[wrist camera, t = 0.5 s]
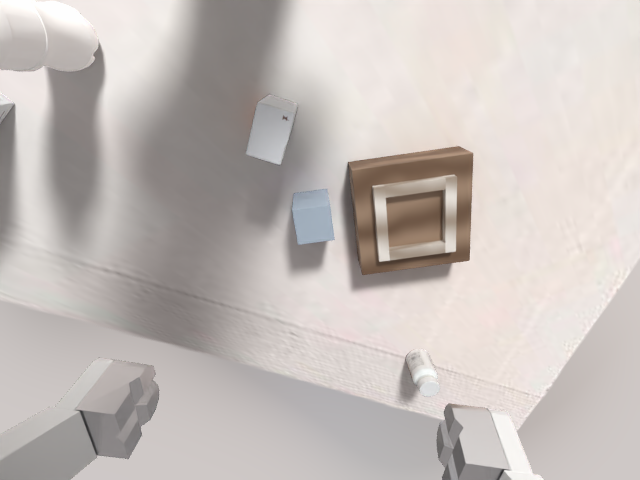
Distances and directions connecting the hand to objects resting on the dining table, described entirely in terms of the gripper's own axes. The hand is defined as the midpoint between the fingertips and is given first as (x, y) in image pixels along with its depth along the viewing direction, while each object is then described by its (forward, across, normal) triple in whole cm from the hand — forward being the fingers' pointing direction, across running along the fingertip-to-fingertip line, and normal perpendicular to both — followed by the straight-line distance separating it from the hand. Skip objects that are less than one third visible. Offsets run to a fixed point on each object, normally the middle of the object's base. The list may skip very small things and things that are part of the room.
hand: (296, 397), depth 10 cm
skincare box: (+45, +10, +2) cm, 46 cm away
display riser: (+46, -10, +14) cm, 49 cm away
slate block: (+45, +4, +14) cm, 47 cm away
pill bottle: (+45, -17, +43) cm, 64 cm away
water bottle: (+43, +35, -6) cm, 55 cm away
